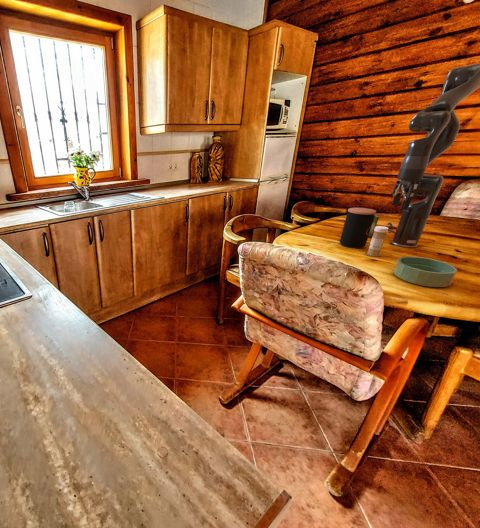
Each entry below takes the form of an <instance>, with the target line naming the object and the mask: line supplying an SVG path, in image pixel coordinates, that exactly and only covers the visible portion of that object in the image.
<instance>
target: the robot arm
mask: <svg viewBox="0 0 480 528" xmlns="http://www.w3.org/2000/svg"><path fill="white" fill-rule="evenodd" d="M479 88H480V62H479V63H473V64H468V65H463V66H462V65H461V66H457V67H454V68H452V69H450V70H449V72H448V73H447V74H446V76H445V79H444V82H443V85H442V89H441V91H440V94H439V96H437V98H436V99H435V100H434V101H432V103H431V104H430V105H428V106H427V107H425V108H423V109H422V110H420V111H418V112H417V113H416V114H415V115H413V117H412V118H411V119H410V121H409V124H408V130H409V131H410V132H411V133H415V134H416V133H426V135H425V137H421V138H417V139H416V138H415V139H413V140H411V141H410V142H409V143H408V146H407V149H406V152H405V155H404V158H403V159H402V162H401V165H400V167H399V171H398V174H397V177H396V179H397V180H396V181H395V184H394V187H393V189H392V191H391V194H392V196H393V199H392V201H391V206H395V207H396V206H399V205H400V202H401V199H402V196H403V200H402V203H401V206H400V210H402V212H401V215H400V217H399V221H398V223H397V225H396V229H395V230H392V228H393V224H392V222H388V223H387V225H389V227H388V228H389V229H388V232H391V233H393V234H394V235H393V237H392V240H391V244H392V245H393V246H396V247H400V248H405V249H406V248H407V249H414V248H415V249H416V248H417V247H418V245H419V242H420V239H421V237H422V234H423V232H424V230H425V227H426V225H427V223H428V222H427V221H428V219H429V216H430V214H431V212H432V209H433V206H434V203H435V201H436V198H437V197H438V195H439V192H440V191H441V188H442V186H443V183H444V176H442V175H436V174H425V172H426V169H427V167H429V165H430V164H431V163H432V162H433V161H435V160H436V159H437V158H438V157H440V156H441V155H442V154H443V153H445V152H446V151H447V150H449V149H450V147H452V146H453V145H454V143H455V142H456V139H457V136H458V133H459V131H460V129H461V123H460V120H459V118H458V116H457V114H456V112H455V108H456V107H457V106H458V105H459V104H460V103H461V102H463V100H465V99H466V98H467V97H469V96H471V94H473V93H474V92H475V91H477V90H478V89H479ZM417 197H425V198H423V199H421V200H417V201H415V200H416V199H417Z"/></svg>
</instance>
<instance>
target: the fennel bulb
mask: <svg viewBox="0 0 480 528" xmlns="http://www.w3.org/2000/svg"><path fill="white" fill-rule="evenodd" d="M374 216H375V217H374V221H373V224H372V227H371V230H370V233H369V236H368V238H372V237H373V234H374V229H375V227H376V226H378V222H379V219H380V215H378V214H374Z"/></svg>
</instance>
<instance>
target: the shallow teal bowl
mask: <svg viewBox="0 0 480 528" xmlns="http://www.w3.org/2000/svg"><path fill="white" fill-rule="evenodd" d="M392 273H393V274H394V276H395V277H397V278H399V279H401V280H402V281H404V282H407V283H410V284H413V285H417V286H422V287H428V288H446V287H449V286H451V285H452V283H453V282H454V279H455V277H456V275H457V273H458V269H457V267H455V266H454V265H452V264H450V263H448V262H444V261H441V260H437V259H433V258H428V257H422V256H402V257H399V258H398V259H397V261H396V264H395V266H394V269H393V271H392Z"/></svg>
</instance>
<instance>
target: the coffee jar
mask: <svg viewBox="0 0 480 528" xmlns="http://www.w3.org/2000/svg"><path fill="white" fill-rule="evenodd" d="M347 212H348V213H347V214H346V216H345V220H344V224H343V228H342V231H341V234H340V239H339V243H340V245H341V246H343V247H345V248H350V249H363V248H364V247H366V245H367V242H368V239H369V237H368V236H369V233H370V230H371V227H372V224H373V221H374V217H375V216H374V215H376V213H377V210H376V209H373V208H366V207H350V208H348V210H347Z"/></svg>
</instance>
